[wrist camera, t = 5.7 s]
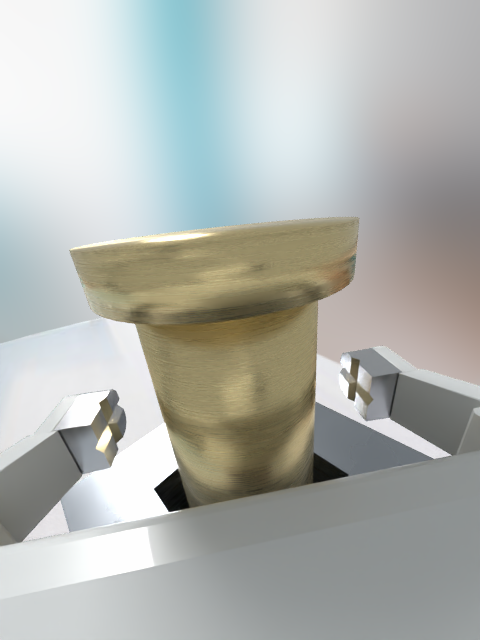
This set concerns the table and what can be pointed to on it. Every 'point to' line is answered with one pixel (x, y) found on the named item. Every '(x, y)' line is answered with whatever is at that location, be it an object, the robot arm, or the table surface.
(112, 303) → the brass flanged peg
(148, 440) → the housing
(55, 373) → the table surface
